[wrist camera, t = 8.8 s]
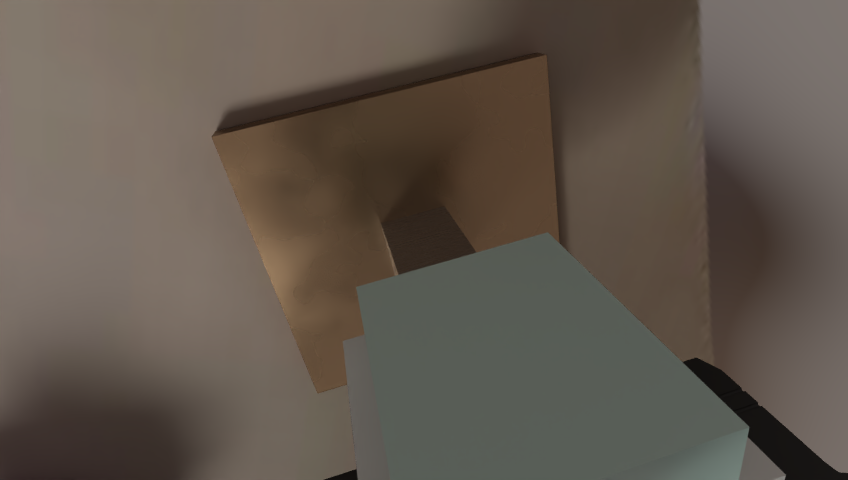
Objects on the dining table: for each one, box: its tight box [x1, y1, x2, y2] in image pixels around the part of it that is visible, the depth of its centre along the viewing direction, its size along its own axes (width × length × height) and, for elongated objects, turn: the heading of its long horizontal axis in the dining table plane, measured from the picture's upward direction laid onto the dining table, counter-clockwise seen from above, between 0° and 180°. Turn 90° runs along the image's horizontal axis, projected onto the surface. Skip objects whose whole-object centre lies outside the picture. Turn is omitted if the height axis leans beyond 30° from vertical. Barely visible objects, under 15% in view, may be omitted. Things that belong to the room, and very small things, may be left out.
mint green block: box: [356, 232, 749, 480], centre depth 11 cm, size 5×5×7 cm
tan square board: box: [212, 53, 559, 393], centre depth 17 cm, size 12×12×7 cm
